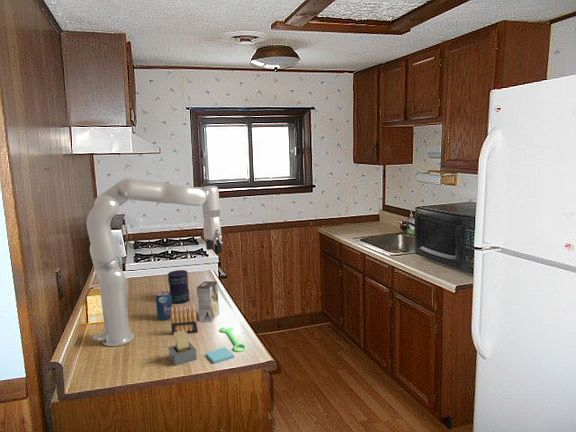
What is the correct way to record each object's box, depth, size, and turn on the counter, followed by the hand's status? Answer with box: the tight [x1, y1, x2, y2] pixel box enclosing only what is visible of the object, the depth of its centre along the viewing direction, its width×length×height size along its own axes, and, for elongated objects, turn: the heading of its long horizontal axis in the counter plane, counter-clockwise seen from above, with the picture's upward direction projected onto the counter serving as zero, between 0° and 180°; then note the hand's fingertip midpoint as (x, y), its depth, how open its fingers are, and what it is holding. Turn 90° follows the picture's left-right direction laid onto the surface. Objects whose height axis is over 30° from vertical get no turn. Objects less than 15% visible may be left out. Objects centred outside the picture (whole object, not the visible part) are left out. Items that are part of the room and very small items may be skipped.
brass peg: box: [173, 330, 189, 353], centre depth 166 cm, size 4×4×10 cm
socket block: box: [167, 341, 198, 366], centre depth 167 cm, size 8×8×4 cm
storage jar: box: [167, 269, 190, 305], centre depth 229 cm, size 10×10×15 cm
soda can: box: [155, 290, 173, 321], centre depth 207 cm, size 7×7×12 cm
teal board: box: [205, 346, 235, 364], centre depth 167 cm, size 8×8×1 cm
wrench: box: [219, 326, 247, 353], centre depth 182 cm, size 25×2×5 cm
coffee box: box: [196, 280, 220, 322], centre depth 205 cm, size 9×6×16 cm
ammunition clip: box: [170, 304, 198, 336], centre depth 189 cm, size 11×2×12 cm, turn 97°
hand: (214, 251), depth 202 cm, fingers open, 9 cm apart
